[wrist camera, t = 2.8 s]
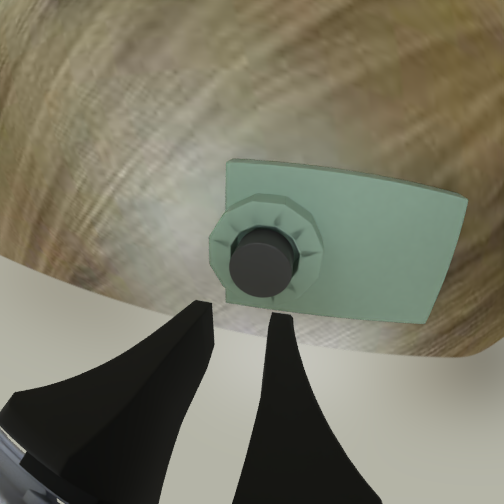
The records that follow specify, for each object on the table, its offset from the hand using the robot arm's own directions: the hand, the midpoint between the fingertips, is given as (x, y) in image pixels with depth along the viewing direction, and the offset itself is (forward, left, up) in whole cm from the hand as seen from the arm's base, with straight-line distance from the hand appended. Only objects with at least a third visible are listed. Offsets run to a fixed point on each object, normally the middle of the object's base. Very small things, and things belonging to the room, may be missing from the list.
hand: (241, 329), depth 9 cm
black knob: (0, 0, -6) cm, 6 cm away
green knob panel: (0, -4, -8) cm, 10 cm away
